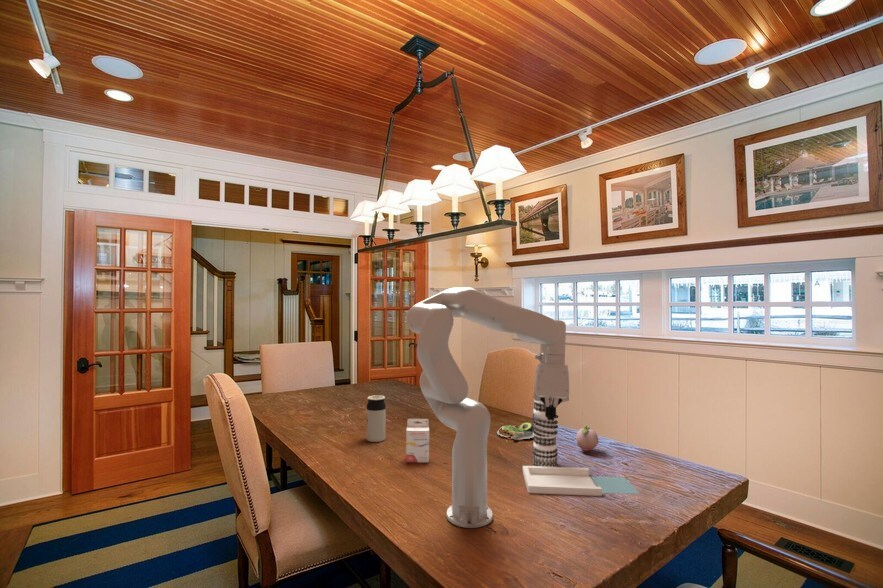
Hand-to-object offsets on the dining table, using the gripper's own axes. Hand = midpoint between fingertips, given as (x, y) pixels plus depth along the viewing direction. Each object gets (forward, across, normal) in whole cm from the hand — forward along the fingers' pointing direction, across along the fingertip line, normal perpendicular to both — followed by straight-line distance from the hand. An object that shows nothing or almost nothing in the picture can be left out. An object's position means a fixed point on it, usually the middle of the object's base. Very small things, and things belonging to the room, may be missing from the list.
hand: (550, 419), depth 131 cm
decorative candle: (+22, +2, +20) cm, 30 cm away
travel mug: (+24, -65, +44) cm, 82 cm away
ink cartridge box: (+24, -44, +23) cm, 55 cm away
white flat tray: (+22, +5, +6) cm, 23 cm away
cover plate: (+22, +21, +6) cm, 31 cm away
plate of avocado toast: (+21, -5, +58) cm, 62 cm away
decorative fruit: (+20, +21, +39) cm, 48 cm away
